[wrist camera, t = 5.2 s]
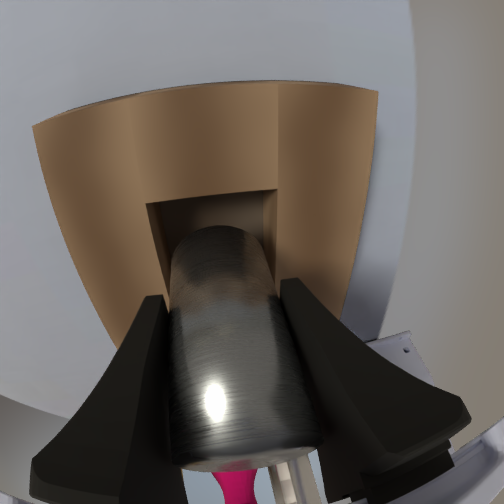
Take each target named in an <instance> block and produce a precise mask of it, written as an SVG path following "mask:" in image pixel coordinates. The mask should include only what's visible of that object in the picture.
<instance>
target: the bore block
mask: <svg viewBox="0 0 504 504" xmlns="http://www.w3.org/2000/svg"><path fill="white" fill-rule="evenodd" d="M377 105H378V91H374V90H369V89H365V88H360V87H355V86H350V85H344V84H338V83H327V82H312V81H287V80H257V81H231V82H216V83H205V84H195V85H186V86H178V87H171V88H164V89H158V90H152V91H146V92H141V93H135V94H130V95H126V96H121V97H116V98H112V99H108V100H104V101H100V102H96V103H92V104H88V105H85V106H81V107H78V108H74V109H71V110H68V111H66V112H63V113H61V114H58V115H56V116H54V117H51V118H49V119H47V120H44V121H42V122H40V123H38V124H36V125H34V126H32V128H33V133H34V138H35V143H36V147H37V152H38V156H39V160H40V164H41V168H42V172H43V176H44V179H45V183H46V186H47V190H48V193H49V196H50V200H51V203H52V206H53V209H54V212H55V215H56V218H57V221H58V224H59V226H60V229H61V232H62V235H63V237H64V240H65V242H66V245H67V248H68V250H69V253H70V255H71V257H72V260H73V262H74V265H75V267H76V269H77V271H78V274H79V276H80V278H81V280H82V283H83V285H84V287H85V289H86V291H87V293H88V295H89V297H90V300H91V302H92V304H93V306H94V308H95V310H96V311H97V313H98V315H99V317H100V319H101V321H102V323H103V325H104V327H105V329H106V330H107V332H108V334H109V336H110V338H111V339H112V341H113V343H114V345H115V346H116V348H117V350H118V349H119V347H120V345H121V343H122V341H123V339H124V337H125V336H126V334H127V332H128V330H129V328H130V326H131V324H132V322H133V320H134V318H135V316H136V314H137V312H138V310H139V308H140V306H141V303H142V301H143V299H144V298H145V297H146V296H150V295H160V294H163V297H164V300H165V303H166V306H167V309H168V313H169V295H170V277H171V262H172V256H173V253H174V251H175V249H176V247H177V246H178V244H179V243H180V242H181V241H182V240H183V239H184V238H185V237H186V236H188V235H189V234H191V233H192V232H194V231H196V230H199V229H202V228H205V227H209V226H216V225H226V226H233V227H237V228H240V229H242V230H244V231H246V232H248V233H250V234H251V235H252V236H254V237H255V238H256V239H257V240H258V242H259V243H260V245H261V246H262V248H263V251H264V254H265V257H266V260H267V263H268V266H269V269H270V272H271V275H272V278H273V282H274V285H275V288H276V291H277V294H278V297H279V299H280V280H282V279H289V278H296V277H298V278H299V279H300V280H301V281H302V282H303V283H304V284H305V286H306V287H307V288H308V289H309V290H310V291H311V292H312V293H313V294H314V295H315V297H316V298H317V299H318V300H319V301H320V302H321V303H322V304H323V305H324V306H325V307H326V308H327V309H328V310H329V311H330V312H331V313H332V314H333V315H334V316H335V317H336V318H337V319H338V320H340V316H341V312H342V309H343V305H344V301H345V297H346V293H347V289H348V285H349V281H350V277H351V273H352V268H353V264H354V259H355V255H356V250H357V245H358V241H359V236H360V231H361V225H362V220H363V215H364V209H365V203H366V197H367V191H368V184H369V178H370V171H371V163H372V155H373V147H374V138H375V128H376V118H377Z"/></svg>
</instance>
